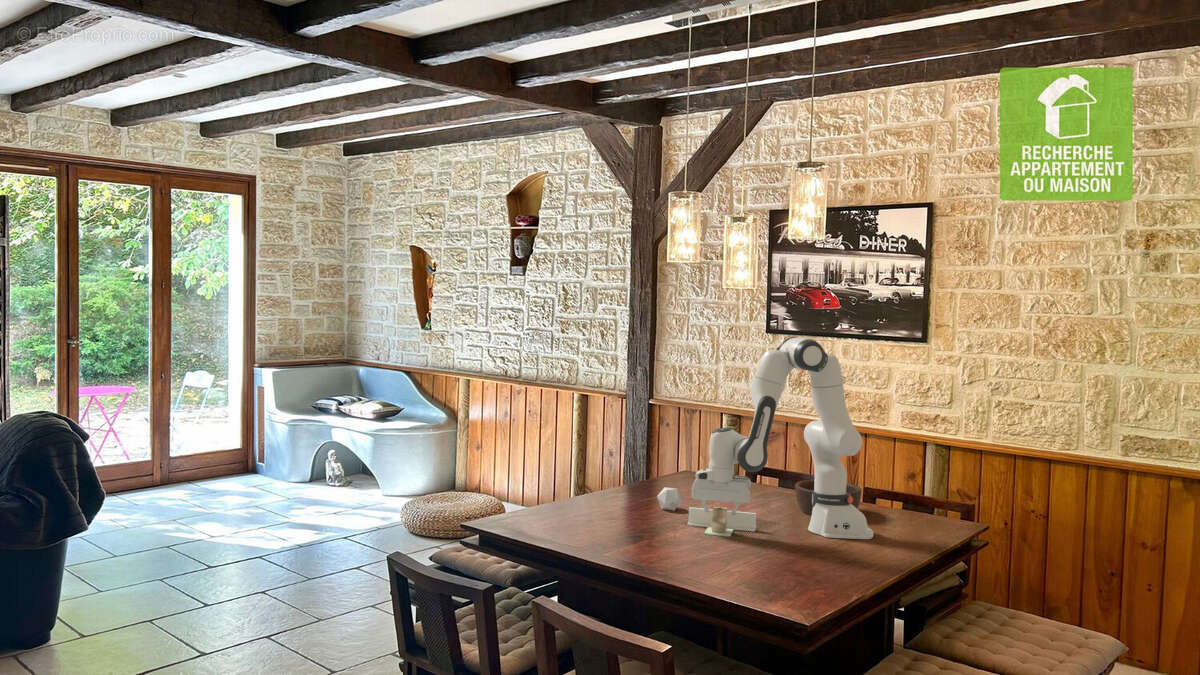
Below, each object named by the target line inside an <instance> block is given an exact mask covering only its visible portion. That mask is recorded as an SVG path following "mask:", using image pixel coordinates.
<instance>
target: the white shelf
mask: <svg viewBox="0 0 1200 675" xmlns="http://www.w3.org/2000/svg"><path fill="white" fill-rule="evenodd" d="M712 511H713V508H712V509H711V508H709V513H705V512H704V507H703V508H701V507H699V508H698V507H691V506H689V507H688V522H687V526H689V527H690V526H691V527H700V528H708V527H712ZM731 513H732V512H731V510H727V526H726V529H733V531H734V530H735V531H744V532H756V530H757V512H746V511H737V510H736V515H731Z"/></svg>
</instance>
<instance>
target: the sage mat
mask: <svg viewBox="0 0 1200 675" xmlns="http://www.w3.org/2000/svg"><path fill="white" fill-rule="evenodd" d="M733 532H734V530H733V529H726V532H725V533H715V532H712V527H706V529H705V531H704V533H703V535H709V536H717V537H718V536H719V537H720V536H721V537H728V538H729V537H731V536H732V534H733Z"/></svg>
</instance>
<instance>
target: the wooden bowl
mask: <svg viewBox="0 0 1200 675" xmlns="http://www.w3.org/2000/svg"><path fill="white" fill-rule="evenodd" d="M794 487H795V488H794V490H795V497H796V502H797V505H798V507H799V509H800V510H801V511H802V512H803V513H805V514H807V515H810V516H812V510H813V506H812V494H813V490H814V479H811V480H810V479H809V480H808V479H806V480H800V481H798V482H796V483H795V485H794ZM846 493H848V494H850V495H851V496H852V498H853V502H852V503H851V504H852V505H853V506H854V507H855V508H857V509H859V506H860V502H861V499H862V498H861V497H862V488H861V487H860V486H858V485H856V484H852V483H848V482H846Z"/></svg>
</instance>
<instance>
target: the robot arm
mask: <svg viewBox="0 0 1200 675" xmlns="http://www.w3.org/2000/svg"><path fill="white" fill-rule="evenodd" d="M794 369H797V370H804V371H807V372H808V374H809V378H810V389H811V397H812V406H813V409H814V411H815V412H816V413H817V415H818V416H819V419H816V420H812V421H810V422H809V423H807V425H806V426H805V428H804V431H803V439H804V441H805V442H806V444H807V445H808V447H809V450H810V454H811V458H812V462H813V470H814V479H813V480H814V490H813V494H812V506H813V510H812V515H810V520H809V524H808V527H807V530H808V532H811V533H813V534H817V535H820V536H823V537H825V538H831V539H832V538H833V539H852V540H870V539H873V537H874V531H873V529H871V528H870V527H868V522H867V518H866V516H865V514H864V513H863V512H861V511H860V510H859V508H855V507H854V506H853V505H852V504H851V503H852V502H853V498H852V496H851V495H850V494H848V493H846V483H848V482H847V479H848V478H847V477H848V472H847V469H846V467H845V466H844V464H843V462H842V460H841V457H852V456H855V455H856V454H858V453H859V451H860V450H861V448H862V445H863V439H862V436H861V433H860V432H859V431H858V430H857V429H856V427H855V425H854V424H853V421H852V418H851V417H850V414H849V412H848V408H847V405H846V398H845V396H846V395H845V391H844V390H845V389H844V381H843V373H842V368H841V364H840V361H839V358H838V357H837V356H836V355H835V354H832V353H830V352H826V351H825V350H824V348H823V346H822V345H821V343H819V342H818V341H816V340H814V339H811V338H808V337H806V336H805V337H803V336H801V337H799V336H791V337H789V338H786V339H785V340H784V341H783V342H782V343H781V344H780V345H779V346H778V347H777V348H776V349H775V348H774V349H768V350H766V351H764V353H763V354H762V356H761V358H760V359H759V362H758V364H757V367H756V369H755V371H754V374H753V377H752V381H751V386H750V394H749V395H750V398H751V401H752V405H753V409H754V415H753V419H752V420H753V421H752V425H751V427H750V431H749V434H748V436H746V435H743V434H740V433H739V432H737V431H736V430H734V428H731V427H720V428H716V429H714V430H713V431H712V432H711V434H710V437H709V444H708V456H709V462H708V467H707V468H704V469H699V470H697V471H696V472H695V479H694V481H693V483H692V485H691V498H692V499H693V500H701V505H702V506H703V508H704V512H705V513H709V509H710V506H707V504H706V503H707V501H713V502H714V501H716V502H725V503H726V502H727V503H734V506H735V507H734V508H731V510H730V511H731V512H732V513H731V515H736V511H737V510H738V508H739V506H740V504H748V503H749V502H750V500H751V495H750V494H751V492H750V488H751V487H752V481H751V479H750V478H749V477H748V476H746V475H736V474H735V465H736V464H739V466H740V467H741V468H742V470H744V471H745V472H748V473H756V472H760V471H761V470H762V469H764V467H765V466H766V465H767V462H768V460H769V459H768V458H769V457H768V456H769V455H768V454H769V453H768V440H769V436H770V432H771V428H772V426H773V425H772V424H773V421H774V418H775V414H776V410H777V408H778V404H779V402H780V399H781V397H782V395H783V391H784V388H785V385H786V382H787V378H788V376H789V374H790V372H792V371H793V370H794Z"/></svg>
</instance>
